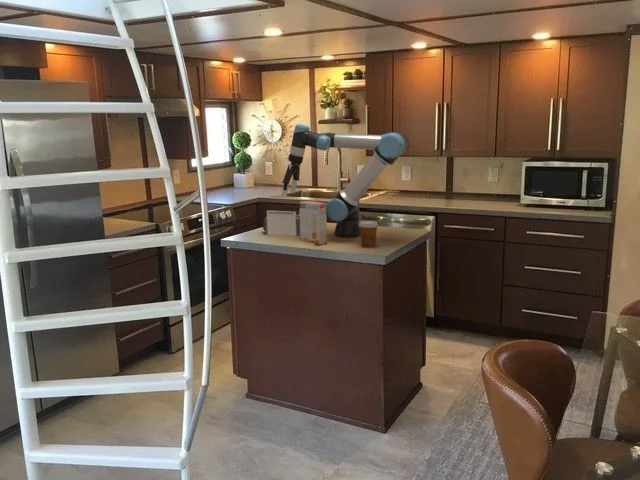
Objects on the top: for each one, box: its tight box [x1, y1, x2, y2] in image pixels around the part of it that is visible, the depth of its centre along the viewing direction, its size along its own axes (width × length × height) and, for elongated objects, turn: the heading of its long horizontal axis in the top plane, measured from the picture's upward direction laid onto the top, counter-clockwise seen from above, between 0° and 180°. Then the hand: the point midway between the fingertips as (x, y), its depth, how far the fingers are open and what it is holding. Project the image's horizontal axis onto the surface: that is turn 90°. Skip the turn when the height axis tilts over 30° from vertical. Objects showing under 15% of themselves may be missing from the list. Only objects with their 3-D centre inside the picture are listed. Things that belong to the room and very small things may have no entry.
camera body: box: [262, 214, 300, 237], centre depth 316 cm, size 22×10×11 cm, turn 73°
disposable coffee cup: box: [359, 220, 379, 248], centre depth 286 cm, size 10×10×12 cm
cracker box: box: [299, 200, 328, 246], centre depth 295 cm, size 14×6×21 cm, turn 43°
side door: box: [266, 210, 298, 237], centre depth 309 cm, size 16×1×13 cm, turn 73°
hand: (288, 193), depth 308 cm, fingers open, 13 cm apart
